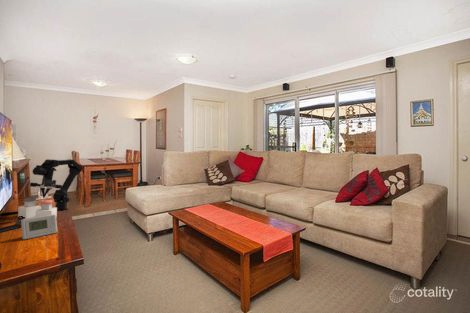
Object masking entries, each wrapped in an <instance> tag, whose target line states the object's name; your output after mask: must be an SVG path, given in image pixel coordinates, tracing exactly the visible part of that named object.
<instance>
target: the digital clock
mask: <svg viewBox="0 0 470 313" xmlns="http://www.w3.org/2000/svg"><path fill="white" fill-rule="evenodd" d="M20 226H21V238H22V240H28V239H35V238H40V237H45V236H49V235H53V234H56V233H58V225H57V217H56V215H55V214H52V215H44V216H38V217H31V218H23V219H21V221H20Z"/></svg>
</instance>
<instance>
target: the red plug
mask: <svg viewBox="0 0 470 313" xmlns="http://www.w3.org/2000/svg"><path fill="white" fill-rule="evenodd" d="M53 201H54V200H52V199H51V200H50V199H49V200H47V199H45V200H41V201H40V204H41V205H40V206H41V210H50V209H52V208H53Z"/></svg>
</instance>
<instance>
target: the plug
mask: <svg viewBox="0 0 470 313" xmlns="http://www.w3.org/2000/svg"><path fill="white" fill-rule="evenodd" d="M23 201H24V202H23V203H24V205H23V206H24V207H33V206H35V205H36V201H37V198H36V197H26V198H23Z"/></svg>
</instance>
